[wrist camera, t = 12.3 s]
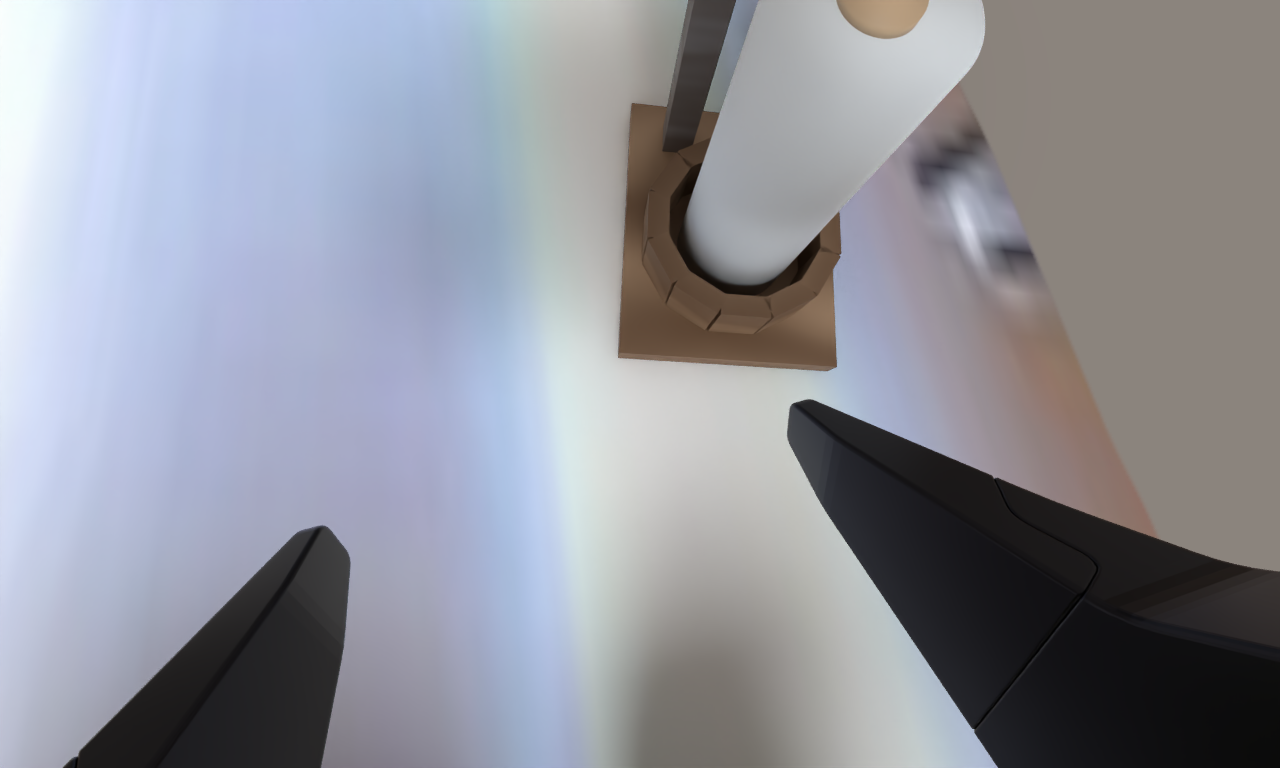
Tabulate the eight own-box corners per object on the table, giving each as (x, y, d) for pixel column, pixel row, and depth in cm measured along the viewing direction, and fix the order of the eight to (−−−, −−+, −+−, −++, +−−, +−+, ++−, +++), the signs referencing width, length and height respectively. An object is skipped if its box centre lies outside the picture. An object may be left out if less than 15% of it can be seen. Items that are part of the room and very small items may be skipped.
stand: (827, 371, 25) (1130, 236, 11) (618, 357, 24) (652, 191, 10) (818, 137, 27) (1051, -213, 13) (630, 117, 26) (671, -283, 12)
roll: (803, 266, 24) (1039, 31, 11) (716, 319, 23) (866, 128, 10) (743, 182, 25) (902, -133, 12) (656, 230, 24) (726, -56, 11)
